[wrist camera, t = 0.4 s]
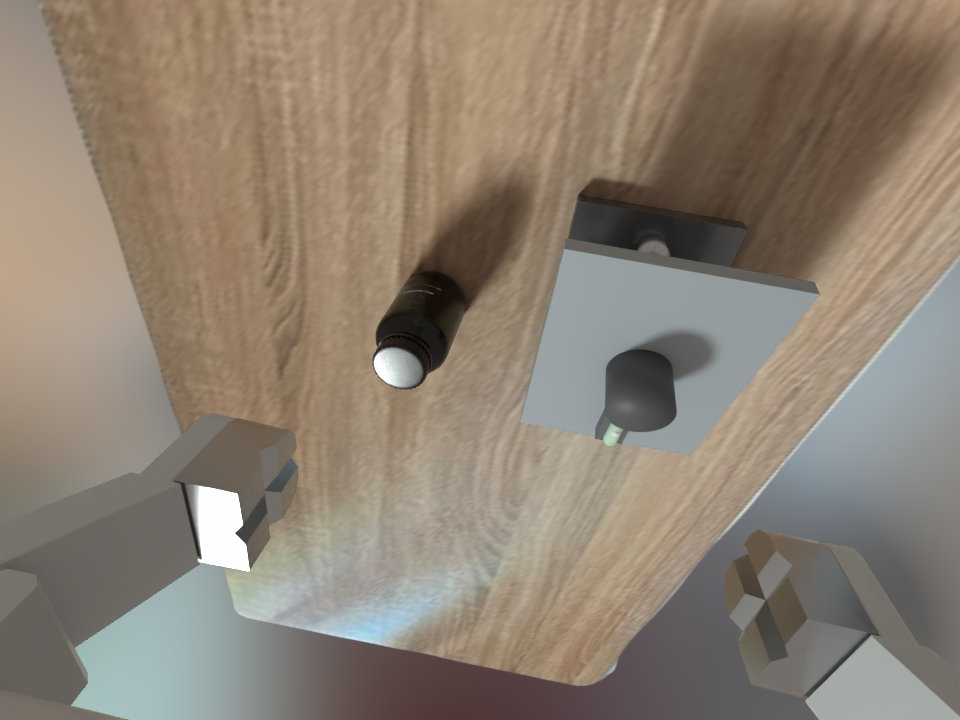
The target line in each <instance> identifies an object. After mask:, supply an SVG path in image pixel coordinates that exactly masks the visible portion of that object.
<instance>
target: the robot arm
mask: <svg viewBox="0 0 960 720" xmlns="http://www.w3.org/2000/svg"><path fill="white" fill-rule="evenodd" d="M296 448H297V446H296V437H295V433H293V432H292V431H290V430H285V429H281V428H277V427H273V426H269V425H264V424H260V423H256V422H252V421H248V420H243V419H239V418H238V419H236V418H232V417H228V416H224V415H220V414H216V413H212V412H211V413H208V414H205V415H203V416H201V417H200V418H199V419H198V420H197V421H196V422H195V423H194V424H193V425H192V426H191V427H189V428H188V429H187V430H186V431H185V432H184V433H183V434H182V435H181V436H180V437H179V438H178V439H177V440H176V441H175V442H174V443H172V444H171V445H170V446H169V447H168V448H167V449H166V450H165V451H164V452H163V453H162V454H161V455H160V456H159V457H158V458H156V459H155V460H154V461H153V462H152V463H151V464H150V465H149V466H148V467H147V468H146V469H145V470H144V471H143V472H142V473H140V474H135V473H128V474H126V475H123V476H121V477H118V478H116V479H113V480H110V481H108V482H105V483H103V484H100V485H97V486H95V487H92V488H89V489H87V490H84V491H82V492H79V493H77V494H74V495H71V496H69V497H66V498H64V499H61V500H58V501H56V502H53V503H51V504H48V505H46V506H43V507H41V508H38V509H35V510H33V511H30V512H28V513H25V514H22V515H20V516H17V517H14V518H12V519H9V520H7V521H4V522H1V523H0V720H128V719H124V718H119V717H115V716H111V715H107V714H103V713H99V712H95V711H91V710H86V709H82V708H78V707H74V706H71V704H72V703H73V702H74V700H75V699H76V698H77V697H78V695H79V694H80V693H81V691H82V690H83V689H84V687H85V686H86V685H87V683H88V675H87V671H86V669H85V667H84V665H83V663H82V661H81V659H80V657H79V656H78V654H77V652H76V650H75V647H76V646H78V645H79V644H81V643H82V642H84V641H85V640H87V639H88V638H90V637H91V636H93V635H94V634H96V633H97V632H99V631H100V630H102V629H103V628H105V627H106V626H108V625H109V624H111V623H112V622H114V621H115V620H117V619H118V618H120V617H121V616H123V615H124V614H126V613H127V612H129V611H130V610H132V609H133V608H135V607H136V606H138V605H139V604H141V603H142V602H144V601H145V600H147V599H148V598H150V597H151V596H153V595H154V594H156V593H157V592H159V591H160V590H162V589H163V588H165V587H166V586H168V585H169V584H171V583H172V582H174V581H175V580H177V579H178V578H180V577H181V576H183V575H184V574H186V573H187V572H189V571H190V570H192V569H193V568H195V567H196V566H198V565H199V561H200V562H206V563H211V564H216V565H221V566H226V567H231V568H236V569H241V570H246V571H250V569H251V568H252V566H253V564H254V563H255V561H256V560H257V558H258V557H259V555H260V553H261V552H262V550H263V549H264V547H265V546H266V544H267V542H268V541H269V539H270V533H269V525H271V524H273V523H275V522H276V521H278V520H280V519H282V518H283V517H284V515H285V514H286V512H287V510H288V509H289V507H290V505H291V503H292V500H293V497H294V495H295V492H296V489H297V482H298V466H297V465H296V464H295V462H294V461H293V460H292V459H291V456H292V454H293V453H294V451H295V450H296ZM745 547H746V550H747V553H748V554H747V555H745V556H742V557H740V558H738V559H736V560H734V561H733V562H732V564H731V566H730V567H729V569H728V571H727V573H726V577H725V584H724V595H725V603H726V607H727V610H728V613H729V616H730V618H731V619H732V620H733V621H734V622H735V623H736V624H737V625H738V626H739V628H741V630H742V631H743V632H742V634H741V636H740V639H739V641H738V645H739V648H740V651H741V654H742V657H743V661H744V664H745V667H746V670H747V673H748V676H749V679H750V682H751V685H755V686H759V687H762V688H766V689H770V690H774V691H778V692H782V693H786V694H790V695H794V696H798V697H802V698H806V699H807V700H806V701H805V702H806V703H807V704H808V706H809V707H810V708H811V710H812V711H813V712H814V713H815V715H816V716H817V717H818V719H819V720H960V673H958V672H957V671H956V670H955V669H954V668H953V667H951V666H950V665H949V664H948V663H947V662H945V661H944V660H943V659H942V658H941V657H940V656H938V655H937V654H936V653H935V652H934V651H932V650H931V649H930V648H928V647H924V646H920V645H918V644H917V642H916V641H915V639H914V637H913V636H912V634H911V633H910V631H909V630H908V628H907V627H906V625H905V623H904V622H903V620H902V619H901V617H900V615H899V614H898V612H897V611H896V609H895V608H894V606H893V604H892V603H891V602H890V600H889V598H888V597H887V595H886V593H885V592H884V590H883V589H882V587H881V586H880V584H879V583H878V581H877V579H876V578H875V576H874V575H873V573H872V572H871V570H870V568H869V567H868V565H867V564H866V562H865V561H864V559H863V557H862V556H861V555H860V554H859V553H857V552H856V551H855V550H854V549H852V548H849V547H843V546H839V545H833V544H828V543H823V542H816V541H812V540H808V539H802V538H798V537H793V536H788V535H783V534H778V533H773V532H768V531H763V530H757V531H756V532H754V533H752V534H751V535H750V536H749V538H748V539H747V541H746V542H745Z"/></svg>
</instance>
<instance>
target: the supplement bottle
mask: <svg viewBox="0 0 960 720" xmlns="http://www.w3.org/2000/svg"><path fill="white" fill-rule="evenodd" d="M464 312H465V298H464V295H463V293H462V291H461V289H460V288H459V286H458V285H457V284H456V283H455V282H454V281H453V280H452V279H450V278H449V277H447V276H445V275H443V274H440V273H436V272H422V273H419V274H416V275H414V276H413V277H411V278H410V279H409V280H408V281H407V282H406V283H405V285H404V286H403V287H402V289H401V291H400V292H399V294H398V295H397V297H396V298H395V300H394V301H393V303H392V304H391V306H390V307H389V309H388V310H387V312H386V314H385V315H384V317H383V318H382V320H381V321H380V323H379V325H378V327H377V330H376V345H377V350H376V352H375V353H374V356H373V360H372V361H373V364H372V365H373V366H374V370H375V373H376V374H377V375H378V377H379V378H381V380H382V381H384V382H385V383H386V384H388V385H390V386H392V387H395V388H399V389H405V390H406V389H412V388H416V387H417V386H419V385H420V384H421V383H423V381H424V380H425V378H426V376H427V374H428V373H430V372H432V371H434V370H436V369H438V368H439V367H440V366H441V365H442V364H443V363H444V361H445V359H446V357H447V355H448V353H449V350H450V348H451V345H452V343H453V340H454V338H455V335H456V333H457V330H458V328H459V326H460V323H461V321H462V318H463V315H464Z"/></svg>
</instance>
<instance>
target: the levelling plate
mask: <svg viewBox="0 0 960 720" xmlns="http://www.w3.org/2000/svg"><path fill="white" fill-rule="evenodd" d="M819 295H820V294H819V291H818V289H817V287H816V284H815V282H810V281H805V280H799V279H793V278H788V277H782V276H776V275H771V274H765V273H759V272H754V271H748V270H742V269H737V268H731V267H726V266H720V265H714V264H709V263H703V262H697V261H692V260H686V259H680V258H675V257H669V256H663V255H658V254H652V253H646V252H641V251H635V250H629V249H624V248H618V247H612V246H607V245H601V244H596V243H590V242H584V241H579V240H573V239H567V238H566V239H565V243H564V247H563V251H562V255H561V259H560V263H559V267H558V271H557V275H556V279H555V283H554V287H553V290H552V294H551V298H550V302H549V306H548V310H547V314H546V318H545V322H544V326H543V330H542V334H541V338H540V342H539V346H538V350H537V354H536V358H535V362H534V366H533V369H532V373H531V377H530V381H529V385H528V389H527V393H526V397H525V401H524V405H523V409H522V414H521V420H520V422H523V423H528V424H533V425H538V426H543V427H548V428H553V429H558V430H563V431H568V432H573V433H578V434H583V435H588V436H593V437H595V439H600V440H603V441H604V443H605V444H606V445H608V446H614V445H615V444H616V443H620V444H622V442H623V443H628V444H633V445H637V446H642V447H647V448H652V449H657V450H662V451H667V452H672V453H677V454H682V455H687V456H690V455H691V454H692V452H693V451H694V450H695V449H696V447H697V446H698V445H699V444H700V442H701V441H702V440H703V439H704V437H705V436H706V435H707V434H708V432H709V431H710V430H711V429H712V427H713V426H714V425H715V424H716V423H717V421H718V420H719V419H720V418H721V416H722V415H723V414H724V413H725V411H726V410H727V409H728V408H729V406H730V405H731V404H732V403H733V401H734V400H735V399H736V398H737V397H738V395H739V394H740V393H741V392H742V390H743V389H744V388H745V387H746V385H747V384H748V383H749V382H750V380H751V379H752V378H753V377H754V375H755V374H756V373H757V372H758V370H759V369H760V368H761V367H762V366H763V364H764V363H765V362H766V361H767V359H768V358H769V357H770V356H771V354H772V353H773V352H774V351H775V349H776V348H777V347H778V346H779V344H780V343H781V342H782V341H783V339H784V338H785V337H786V336H787V335H788V333H789V332H790V331H791V330H792V328H793V327H794V326H795V325H796V323H797V322H798V321H799V320H800V318H801V317H802V316H803V315H804V313H805V312H806V311H807V310H808V308H809V307H810V306H811V305H812V304H813V302H814V301H815V300H816V299H817V297H818V296H819Z"/></svg>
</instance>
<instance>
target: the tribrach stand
mask: <svg viewBox="0 0 960 720" xmlns="http://www.w3.org/2000/svg"><path fill="white" fill-rule="evenodd" d="M747 231H748V229H747V228H746V226H745V225H744V223H741V222H736V221H730V220H724V219H718V218H712V217H706V216H701V215H695V214H689V213H683V212H677V211H671V210H665V209H660V208H654V207H648V206H642V205H636V204H630V203H625V202H619V201H613V200H607V199H601V198H595V197H590V196H584V195H578V199H577V203H576V207H575V211H574V215H573V220H572V224H571V228H570V232H569V236H568V239H573V240H579V241H584V242H590V243H596V244H601V245H607V246H612V247H618V248H624V249H629V250H635V251H641V252H646V253H652V254H658V255H663V256H669V257H675V258H680V259H686V260H692V261H697V262H703V263H709V264H714V265H720V266H726V267H731V265H732V263H733V261H734V259H735V257H736V255H737V252H738V250H739V248H740V246H741V244H742V242H743V240H744V238H745V235H746V233H747Z"/></svg>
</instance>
